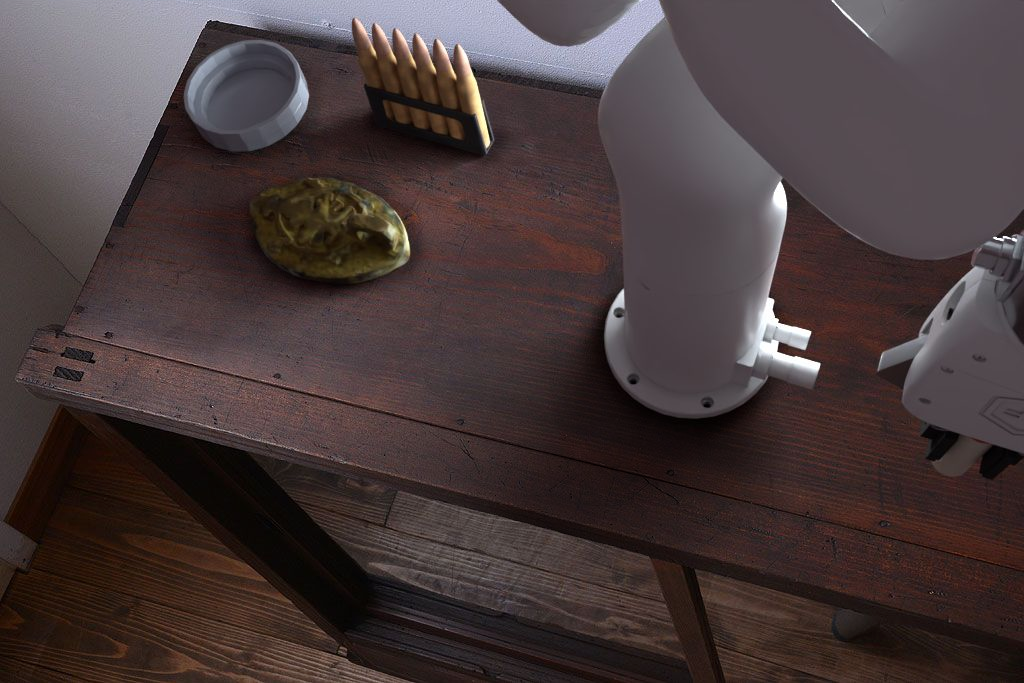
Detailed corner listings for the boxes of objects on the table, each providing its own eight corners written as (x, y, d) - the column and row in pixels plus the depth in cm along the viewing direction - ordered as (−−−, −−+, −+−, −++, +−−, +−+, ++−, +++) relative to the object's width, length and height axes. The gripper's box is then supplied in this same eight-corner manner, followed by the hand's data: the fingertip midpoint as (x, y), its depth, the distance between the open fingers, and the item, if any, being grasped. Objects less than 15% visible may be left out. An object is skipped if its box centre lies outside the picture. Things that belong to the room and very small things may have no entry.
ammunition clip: (495, 139, 83) (473, 38, 72) (486, 156, 82) (463, 56, 71) (385, 108, 85) (348, 6, 75) (375, 124, 85) (337, 24, 74)
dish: (329, 77, 88) (320, 53, 85) (276, 167, 84) (264, 146, 81) (232, 52, 91) (220, 29, 88) (176, 139, 87) (162, 117, 84)
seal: (232, 262, 81) (392, 308, 77) (207, 238, 77) (375, 285, 73) (277, 167, 84) (434, 207, 80) (254, 138, 80) (419, 178, 76)
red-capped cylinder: (973, 448, 57) (1024, 397, 50) (965, 483, 56) (1015, 437, 49) (933, 435, 58) (977, 383, 51) (925, 470, 57) (968, 422, 50)
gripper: (880, 313, 39) (803, 458, 56) (1332, 442, 35) (1104, 557, 52) (921, 166, 42) (836, 346, 58) (1344, 270, 38) (1125, 432, 54)
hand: (963, 444), depth 55 cm, fingers closed on red-capped cylinder, 2 cm apart
